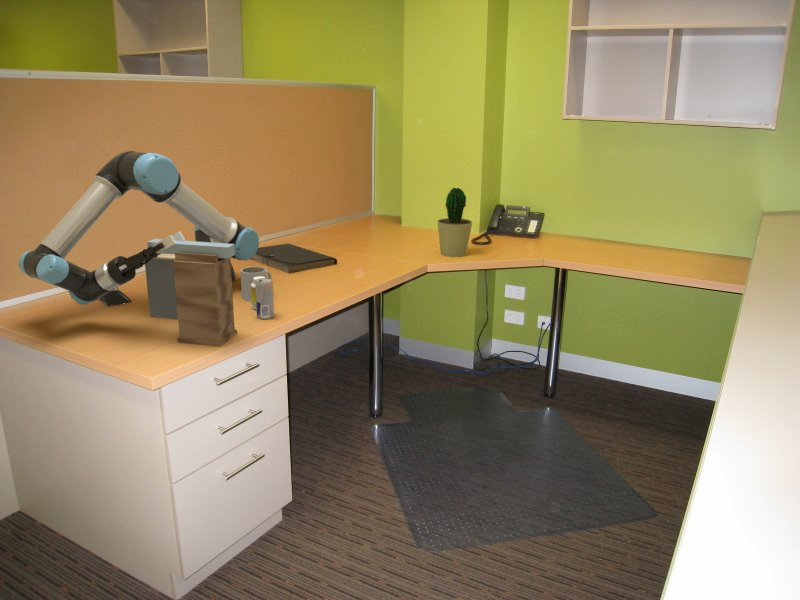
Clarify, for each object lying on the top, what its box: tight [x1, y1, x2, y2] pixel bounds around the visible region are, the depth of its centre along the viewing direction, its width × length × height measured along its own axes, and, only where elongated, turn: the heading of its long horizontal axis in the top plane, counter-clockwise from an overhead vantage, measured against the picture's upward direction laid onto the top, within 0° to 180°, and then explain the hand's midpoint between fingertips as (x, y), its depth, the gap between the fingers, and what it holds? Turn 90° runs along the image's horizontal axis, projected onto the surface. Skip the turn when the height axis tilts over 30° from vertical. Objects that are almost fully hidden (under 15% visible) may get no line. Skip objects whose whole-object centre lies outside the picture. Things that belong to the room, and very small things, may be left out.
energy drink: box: [255, 277, 275, 320], centre depth 204 cm, size 5×5×12 cm
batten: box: [146, 238, 235, 259], centre depth 180 cm, size 4×24×3 cm, turn 79°
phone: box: [99, 289, 132, 307], centre depth 220 cm, size 8×1×15 cm
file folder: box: [250, 243, 338, 274], centre depth 273 cm, size 33×4×24 cm
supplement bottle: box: [251, 276, 265, 311], centre depth 213 cm, size 6×6×10 cm
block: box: [144, 253, 178, 320], centre depth 204 cm, size 10×12×20 cm
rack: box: [173, 252, 238, 347], centre depth 184 cm, size 11×13×26 cm
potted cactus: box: [437, 187, 473, 258], centre depth 286 cm, size 15×15×30 cm
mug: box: [239, 266, 273, 303], centre depth 224 cm, size 12×9×10 cm
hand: (177, 237), depth 180 cm, fingers closed on batten, 4 cm apart
